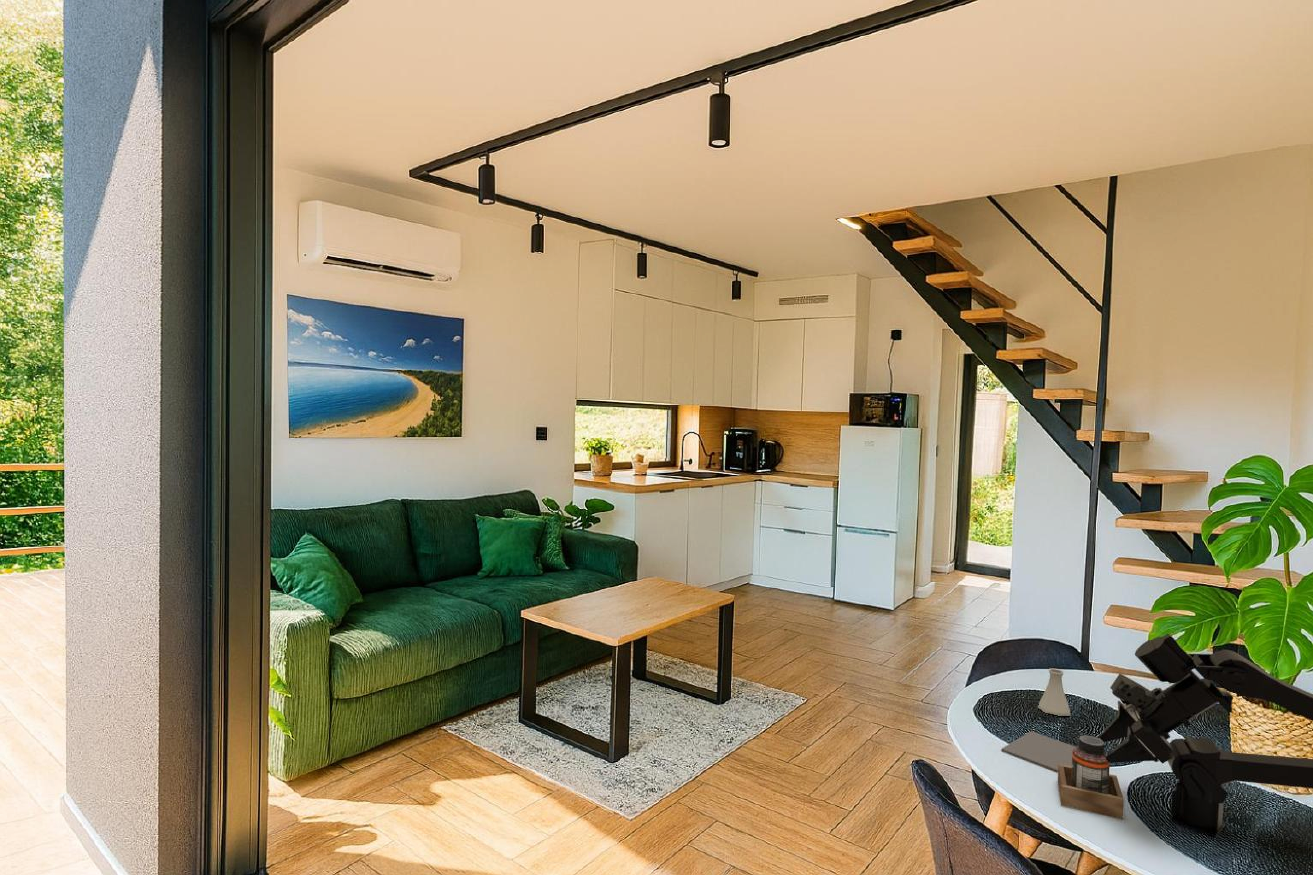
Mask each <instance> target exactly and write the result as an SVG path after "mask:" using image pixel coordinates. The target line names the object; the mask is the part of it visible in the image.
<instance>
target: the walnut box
mask: <svg viewBox="0 0 1313 875" xmlns="http://www.w3.org/2000/svg"><path fill="white" fill-rule="evenodd" d="M1071 775H1072V766H1067V765H1063V764H1058V773H1057V787H1058V788H1057V789H1058V793H1059V795H1058V796H1059V802H1060V806H1064V807H1067V808H1071V809H1075V810H1076V809H1077V810H1080V811H1084V812H1089V813H1092V814H1093V813H1094V814H1097V815H1103V816H1107V817H1111V818H1116V819H1120V820H1123V819H1124V806H1125V800H1124V799H1125V798H1124V795H1123V792H1122V788H1121V785H1120V783H1119V782H1120V781H1119V779H1118V776H1117V775H1115V774H1110V773H1109V787H1108V794H1103V793H1099V792H1094V791H1090V790H1085V789H1080V788H1076V787H1071Z"/></svg>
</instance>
